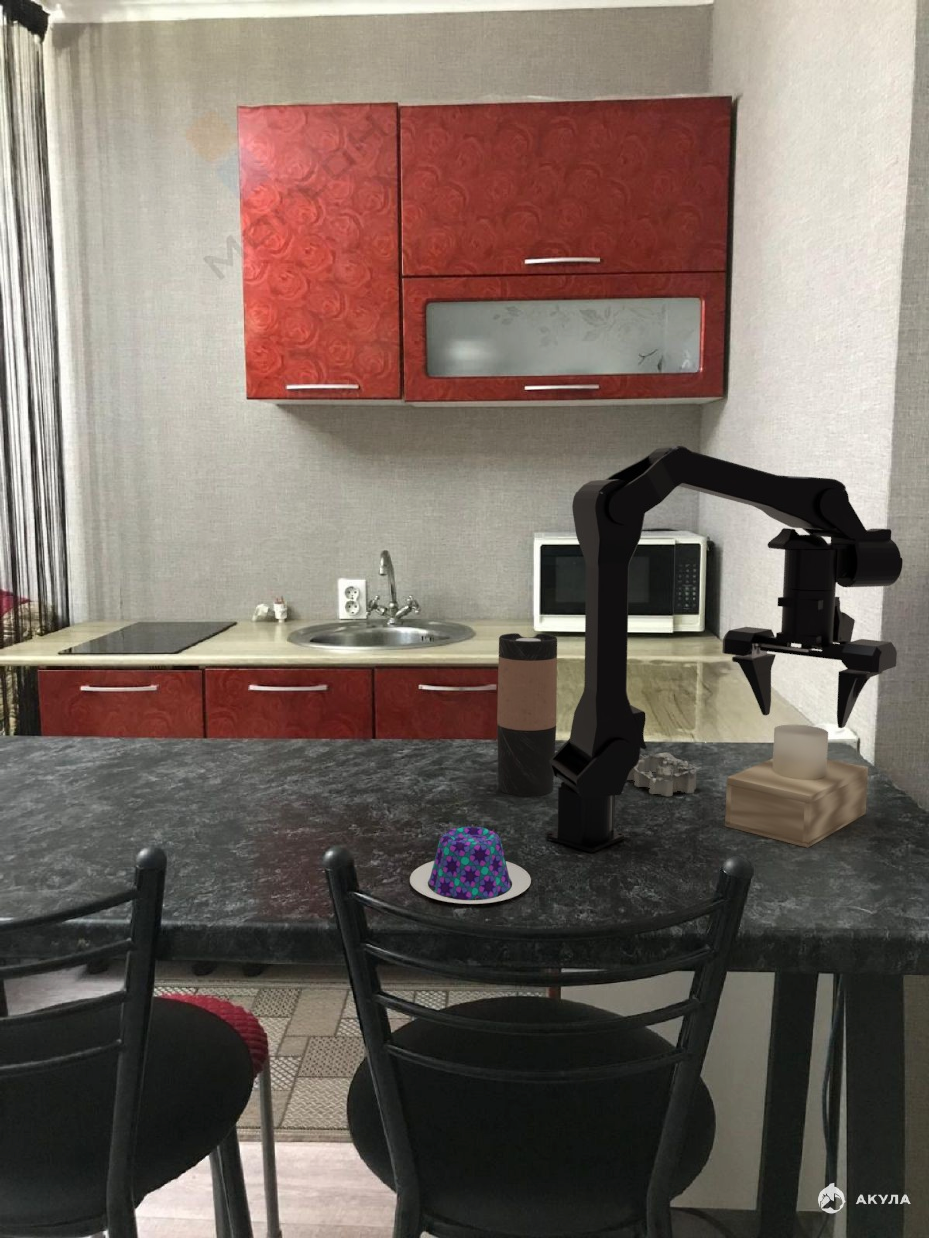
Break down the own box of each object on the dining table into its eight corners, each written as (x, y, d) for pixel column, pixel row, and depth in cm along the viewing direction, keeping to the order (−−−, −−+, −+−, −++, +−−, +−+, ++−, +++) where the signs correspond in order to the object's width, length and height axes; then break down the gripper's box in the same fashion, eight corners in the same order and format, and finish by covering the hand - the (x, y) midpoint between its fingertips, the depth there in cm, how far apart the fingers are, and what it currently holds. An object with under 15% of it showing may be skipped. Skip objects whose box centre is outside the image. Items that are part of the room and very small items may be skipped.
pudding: (550, 901, 95) (551, 848, 94) (430, 918, 91) (430, 863, 90) (504, 857, 106) (504, 810, 105) (395, 871, 102) (395, 822, 101)
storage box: (807, 847, 108) (810, 803, 108) (725, 826, 115) (726, 784, 115) (865, 813, 120) (867, 773, 119) (787, 795, 127) (789, 758, 126)
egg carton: (613, 777, 135) (613, 748, 135) (660, 772, 138) (661, 743, 138) (654, 800, 126) (655, 769, 125) (705, 794, 128) (706, 763, 128)
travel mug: (525, 801, 124) (528, 643, 121) (484, 787, 130) (485, 636, 127) (567, 789, 129) (570, 637, 126) (525, 776, 135) (528, 630, 132)
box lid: (810, 803, 108) (810, 796, 108) (726, 784, 115) (727, 777, 114) (867, 773, 119) (868, 767, 119) (789, 757, 126) (789, 751, 126)
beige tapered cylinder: (812, 782, 113) (814, 739, 112) (763, 772, 117) (765, 730, 116) (834, 771, 117) (836, 730, 116) (786, 762, 121) (788, 722, 120)
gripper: (918, 589, 113) (909, 722, 115) (766, 578, 126) (760, 698, 128) (881, 596, 105) (872, 739, 107) (722, 584, 118) (717, 712, 120)
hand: (802, 720), depth 116 cm, fingers open, 9 cm apart
